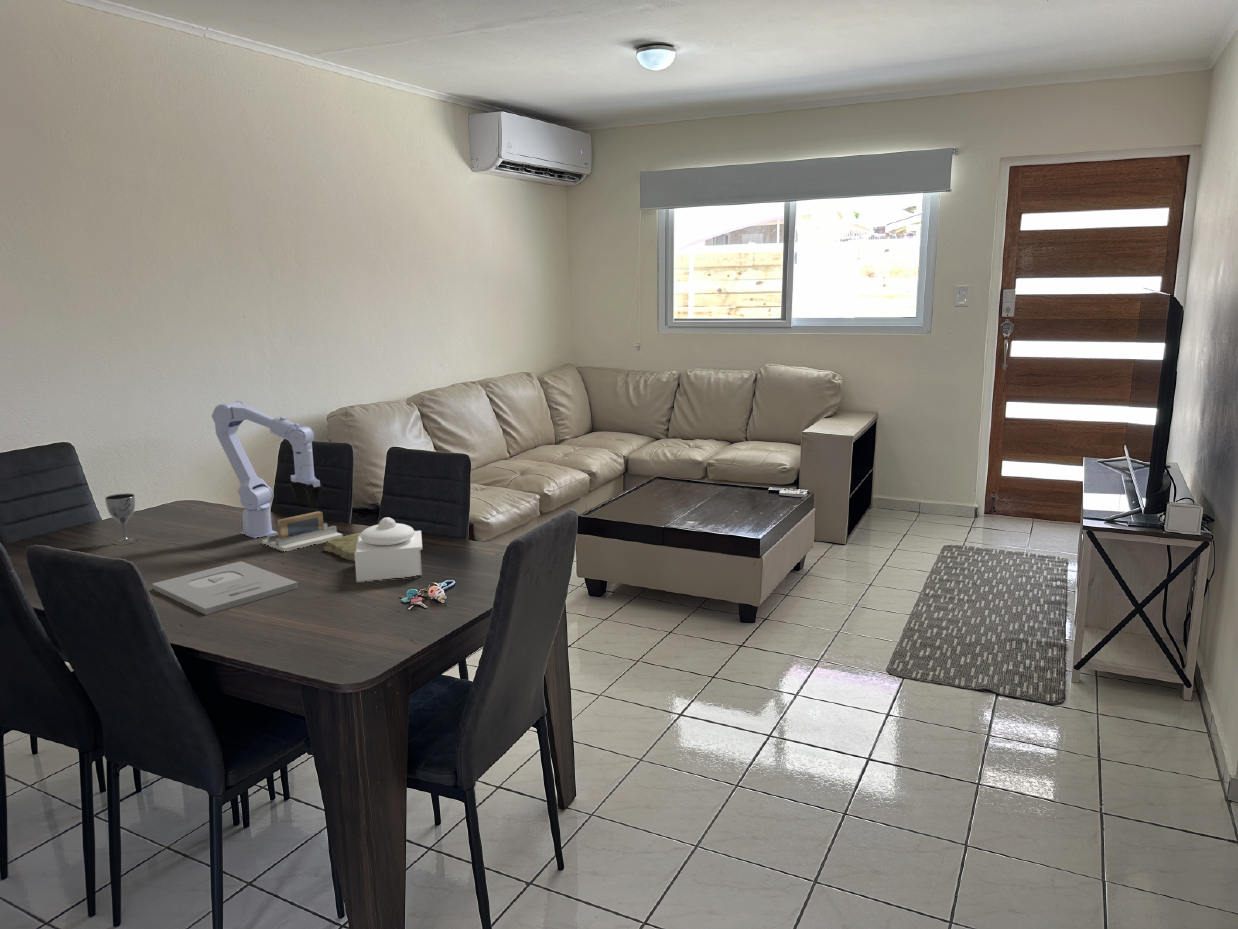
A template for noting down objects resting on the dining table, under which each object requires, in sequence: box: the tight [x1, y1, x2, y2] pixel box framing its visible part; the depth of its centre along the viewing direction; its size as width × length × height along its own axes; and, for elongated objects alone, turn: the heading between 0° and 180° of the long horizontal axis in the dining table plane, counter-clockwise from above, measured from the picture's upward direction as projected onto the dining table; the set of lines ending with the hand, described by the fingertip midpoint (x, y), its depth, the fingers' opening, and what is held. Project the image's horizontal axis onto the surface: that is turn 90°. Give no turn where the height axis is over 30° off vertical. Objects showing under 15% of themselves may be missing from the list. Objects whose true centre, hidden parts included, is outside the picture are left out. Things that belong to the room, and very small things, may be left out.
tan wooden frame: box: [277, 511, 324, 538], centre depth 268 cm, size 3×14×7 cm, turn 139°
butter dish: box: [354, 516, 423, 583], centre depth 239 cm, size 18×18×16 cm
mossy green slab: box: [323, 532, 362, 562], centre depth 259 cm, size 19×20×4 cm
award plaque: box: [151, 560, 299, 616], centre depth 225 cm, size 25×30×2 cm
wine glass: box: [105, 492, 136, 541], centre depth 268 cm, size 8×8×15 cm
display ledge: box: [261, 522, 344, 553], centre depth 269 cm, size 14×20×3 cm
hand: (307, 505), depth 272 cm, fingers open, 7 cm apart
